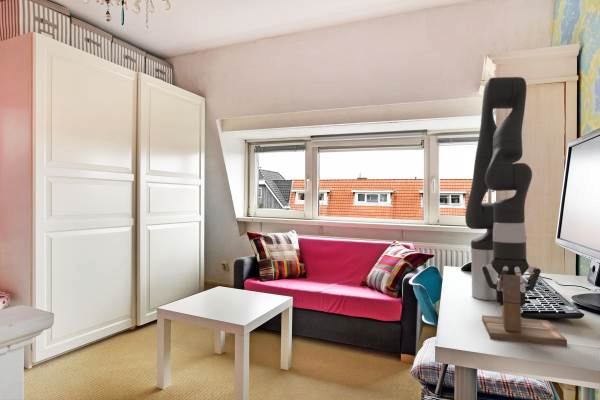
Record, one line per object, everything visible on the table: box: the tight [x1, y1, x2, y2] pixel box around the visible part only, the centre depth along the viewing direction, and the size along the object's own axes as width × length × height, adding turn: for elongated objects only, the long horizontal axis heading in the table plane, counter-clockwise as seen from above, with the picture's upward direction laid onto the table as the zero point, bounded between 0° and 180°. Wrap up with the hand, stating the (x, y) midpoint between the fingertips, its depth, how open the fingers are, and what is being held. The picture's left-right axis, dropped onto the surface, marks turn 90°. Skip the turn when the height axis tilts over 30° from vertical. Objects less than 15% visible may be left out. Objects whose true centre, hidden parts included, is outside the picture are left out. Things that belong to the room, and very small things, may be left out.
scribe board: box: [481, 314, 568, 347], centre depth 93 cm, size 14×16×2 cm
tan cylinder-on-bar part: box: [501, 275, 522, 332], centre depth 93 cm, size 4×11×18 cm, turn 153°
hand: (510, 304), depth 94 cm, fingers closed on tan cylinder-on-bar part, 4 cm apart
